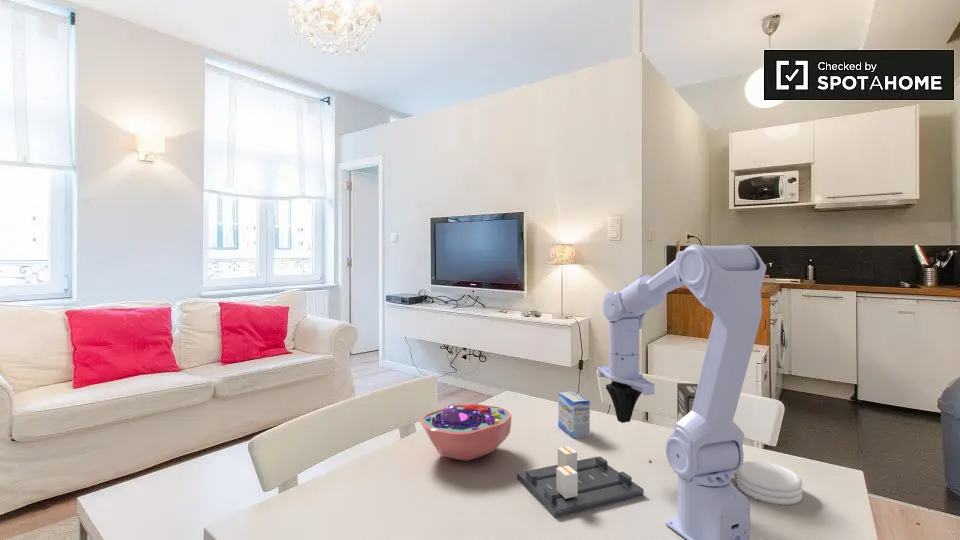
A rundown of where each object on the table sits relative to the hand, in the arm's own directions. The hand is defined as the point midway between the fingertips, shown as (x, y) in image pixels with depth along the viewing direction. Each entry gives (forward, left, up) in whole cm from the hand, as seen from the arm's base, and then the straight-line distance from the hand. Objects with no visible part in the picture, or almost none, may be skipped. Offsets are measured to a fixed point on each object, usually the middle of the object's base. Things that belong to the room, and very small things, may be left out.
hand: (623, 421), depth 90 cm
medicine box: (+21, -2, -10) cm, 23 cm away
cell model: (+19, +26, -10) cm, 34 cm away
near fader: (-5, +16, -8) cm, 19 cm away
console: (-2, +12, -10) cm, 16 cm away
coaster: (-16, -19, -10) cm, 27 cm away
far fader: (+1, +12, -8) cm, 15 cm away
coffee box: (-5, -14, -10) cm, 18 cm away
